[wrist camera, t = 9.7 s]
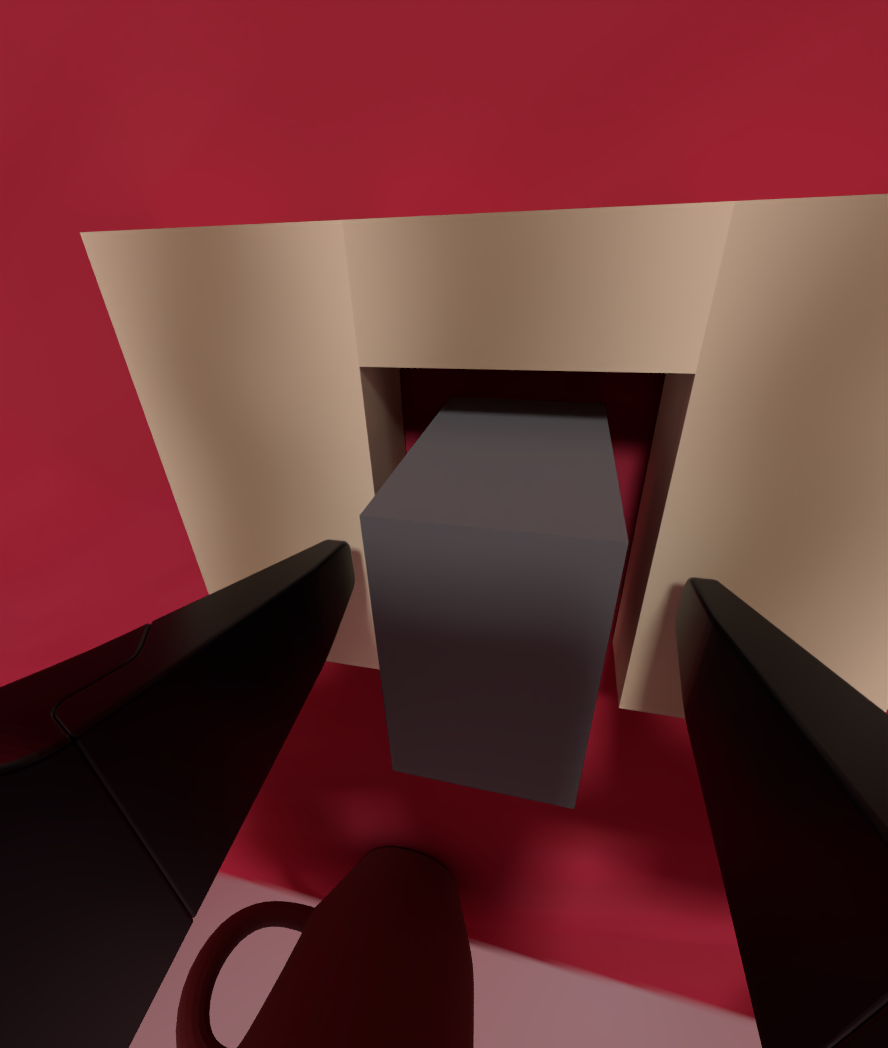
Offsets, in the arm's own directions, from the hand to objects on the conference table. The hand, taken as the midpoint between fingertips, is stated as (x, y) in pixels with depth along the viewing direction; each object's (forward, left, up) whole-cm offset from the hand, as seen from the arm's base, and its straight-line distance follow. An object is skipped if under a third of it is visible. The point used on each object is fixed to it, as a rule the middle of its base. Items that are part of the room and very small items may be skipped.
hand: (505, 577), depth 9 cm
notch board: (0, -1, -2) cm, 3 cm away
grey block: (0, 0, -3) cm, 3 cm away
